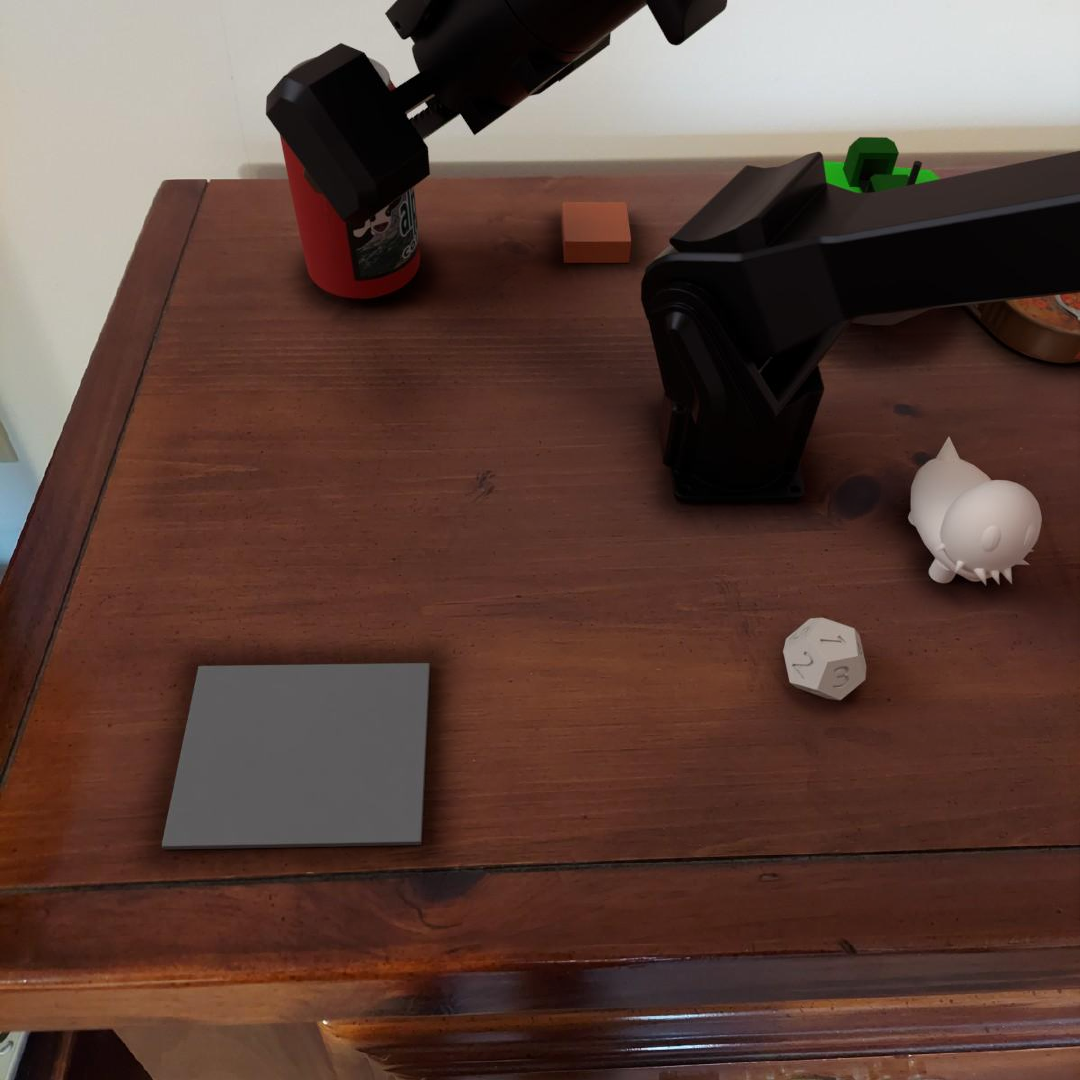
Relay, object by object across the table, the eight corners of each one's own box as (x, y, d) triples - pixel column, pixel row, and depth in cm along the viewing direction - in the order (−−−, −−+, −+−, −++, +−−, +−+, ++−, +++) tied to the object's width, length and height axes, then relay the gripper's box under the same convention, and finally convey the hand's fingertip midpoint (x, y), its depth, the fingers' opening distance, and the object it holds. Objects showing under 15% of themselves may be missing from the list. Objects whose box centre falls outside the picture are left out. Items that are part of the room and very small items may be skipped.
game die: (772, 638, 45) (786, 601, 43) (854, 645, 45) (873, 608, 43) (776, 708, 43) (791, 673, 41) (863, 715, 43) (883, 680, 41)
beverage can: (403, 317, 58) (381, 123, 49) (292, 300, 59) (249, 106, 49) (434, 246, 62) (419, 55, 53) (330, 231, 63) (296, 39, 53)
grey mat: (430, 667, 44) (429, 662, 44) (422, 845, 39) (421, 841, 39) (200, 670, 44) (198, 665, 44) (163, 850, 39) (160, 846, 39)
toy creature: (927, 621, 46) (977, 539, 41) (878, 487, 51) (918, 399, 46) (1024, 616, 46) (1086, 533, 41) (966, 483, 51) (1016, 395, 46)
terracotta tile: (624, 223, 64) (626, 201, 63) (629, 263, 62) (631, 241, 60) (561, 223, 64) (562, 201, 63) (563, 263, 62) (564, 241, 60)
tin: (892, 191, 62) (1006, 157, 64) (880, 234, 64) (990, 199, 66) (1054, 348, 54) (1180, 304, 55) (1032, 390, 56) (1154, 346, 58)
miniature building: (979, 367, 56) (1064, 194, 47) (770, 367, 56) (817, 193, 47) (925, 235, 63) (990, 64, 55) (740, 235, 63) (776, 63, 54)
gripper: (573, -282, 42) (395, -67, 55) (249, -148, 33) (124, 74, 45) (708, -30, 46) (512, 117, 58) (451, 155, 36) (284, 283, 49)
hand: (372, 141), depth 53 cm, fingers open, 9 cm apart
